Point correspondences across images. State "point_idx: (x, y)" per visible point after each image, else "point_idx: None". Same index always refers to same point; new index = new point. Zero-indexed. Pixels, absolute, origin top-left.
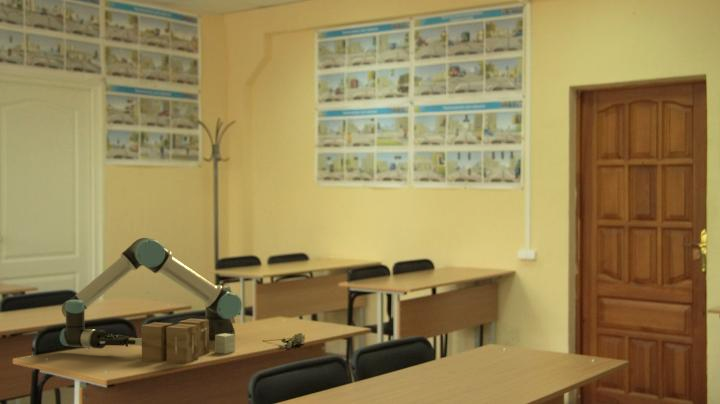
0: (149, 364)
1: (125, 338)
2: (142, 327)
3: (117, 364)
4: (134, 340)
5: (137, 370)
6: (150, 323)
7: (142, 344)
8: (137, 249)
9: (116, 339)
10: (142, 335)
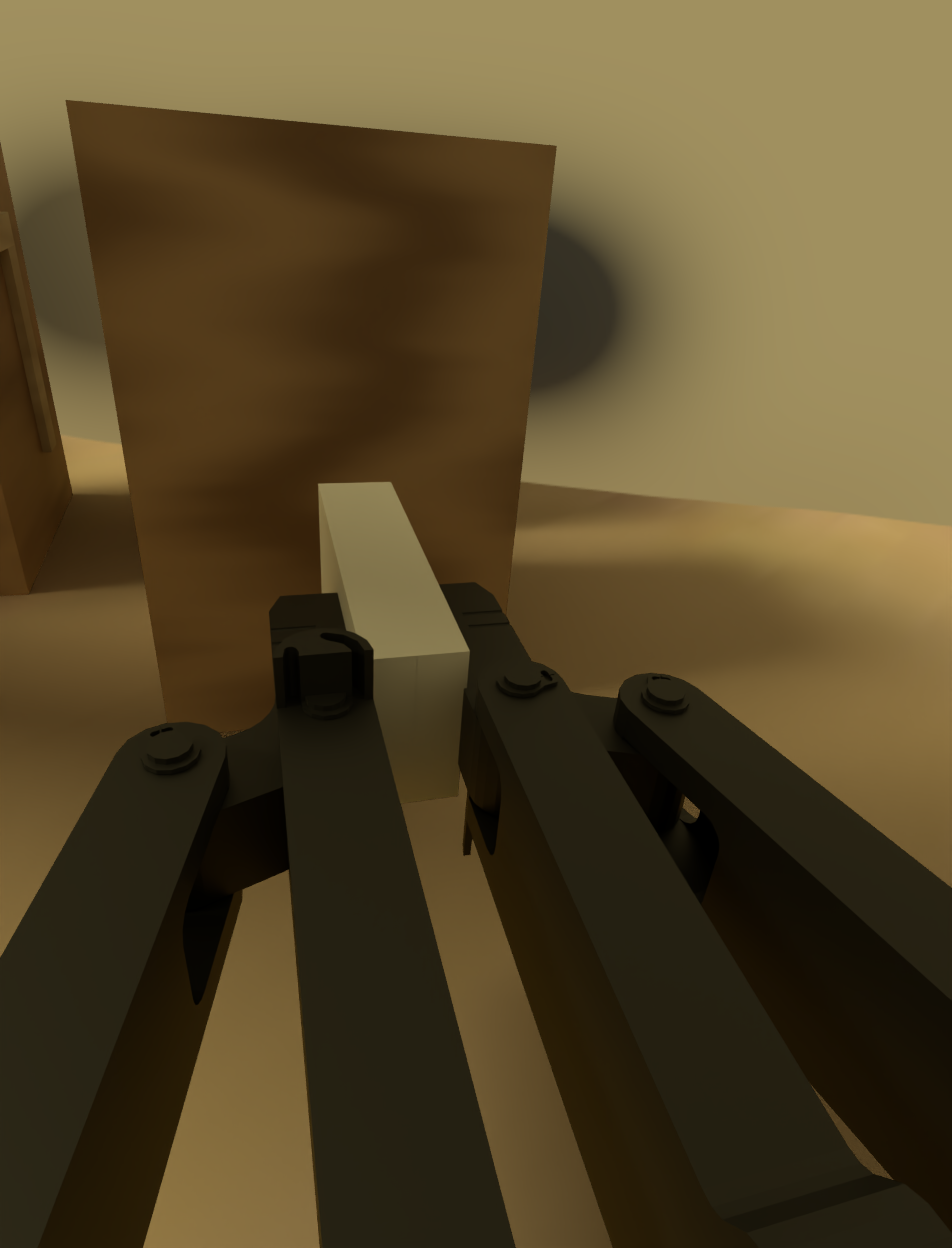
0: (589, 573)
1: (500, 726)
2: (544, 186)
3: (887, 757)
4: (447, 584)
5: (802, 538)
6: (254, 118)
7: (513, 493)
8: None
9: (829, 803)
10: (527, 345)
